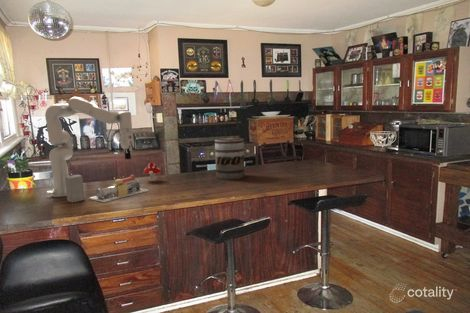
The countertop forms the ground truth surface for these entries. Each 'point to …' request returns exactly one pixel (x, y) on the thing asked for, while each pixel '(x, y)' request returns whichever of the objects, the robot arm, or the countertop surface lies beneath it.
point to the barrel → (229, 158)
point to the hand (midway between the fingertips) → (128, 158)
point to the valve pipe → (118, 191)
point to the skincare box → (74, 188)
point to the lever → (125, 180)
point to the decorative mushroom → (152, 171)
